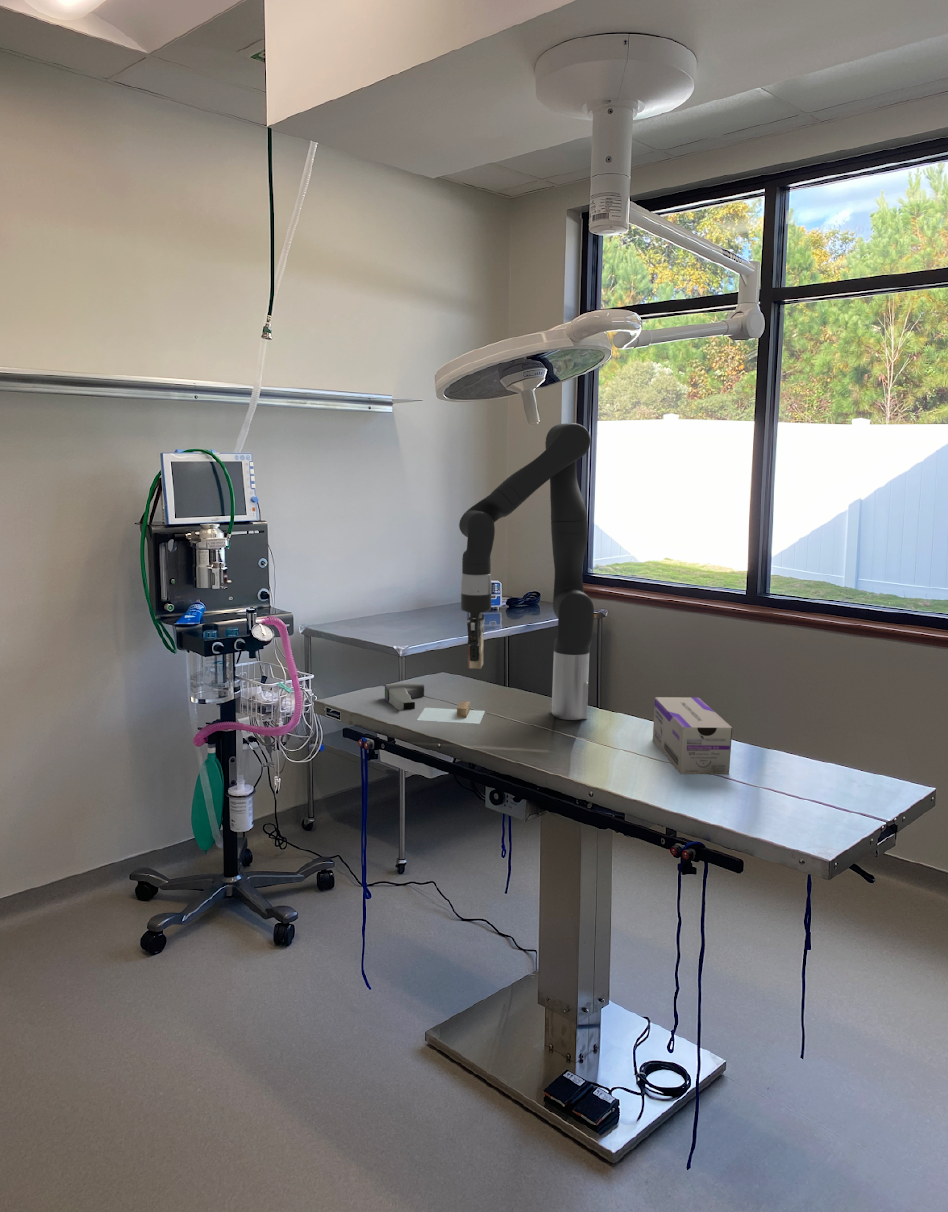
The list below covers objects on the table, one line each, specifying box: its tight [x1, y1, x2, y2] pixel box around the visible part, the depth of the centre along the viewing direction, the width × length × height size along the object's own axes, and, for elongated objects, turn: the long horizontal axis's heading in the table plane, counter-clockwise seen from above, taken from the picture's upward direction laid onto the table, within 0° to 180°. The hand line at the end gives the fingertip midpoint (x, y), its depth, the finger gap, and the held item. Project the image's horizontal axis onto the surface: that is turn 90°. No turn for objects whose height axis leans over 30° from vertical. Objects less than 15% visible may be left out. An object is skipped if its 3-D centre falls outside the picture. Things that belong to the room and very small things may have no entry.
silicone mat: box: [416, 707, 486, 725], centre depth 239 cm, size 16×12×1 cm
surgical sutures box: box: [652, 696, 733, 776], centre depth 212 cm, size 25×11×11 cm, turn 3°
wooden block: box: [467, 631, 484, 670], centre depth 232 cm, size 3×6×8 cm, turn 173°
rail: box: [456, 700, 471, 718], centre depth 241 cm, size 2×7×2 cm, turn 173°
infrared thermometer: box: [384, 682, 425, 712], centre depth 252 cm, size 5×12×15 cm
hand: (475, 658), depth 233 cm, fingers closed on wooden block, 5 cm apart
